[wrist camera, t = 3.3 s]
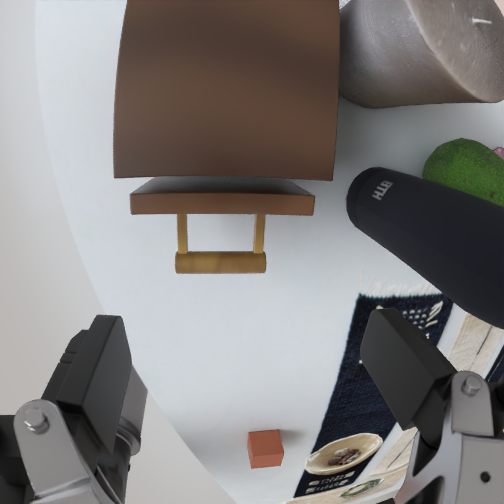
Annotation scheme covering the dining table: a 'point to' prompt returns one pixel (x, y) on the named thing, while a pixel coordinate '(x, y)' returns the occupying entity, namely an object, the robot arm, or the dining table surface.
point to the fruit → (468, 169)
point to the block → (265, 449)
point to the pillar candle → (421, 52)
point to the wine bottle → (436, 236)
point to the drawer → (221, 202)
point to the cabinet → (227, 89)
